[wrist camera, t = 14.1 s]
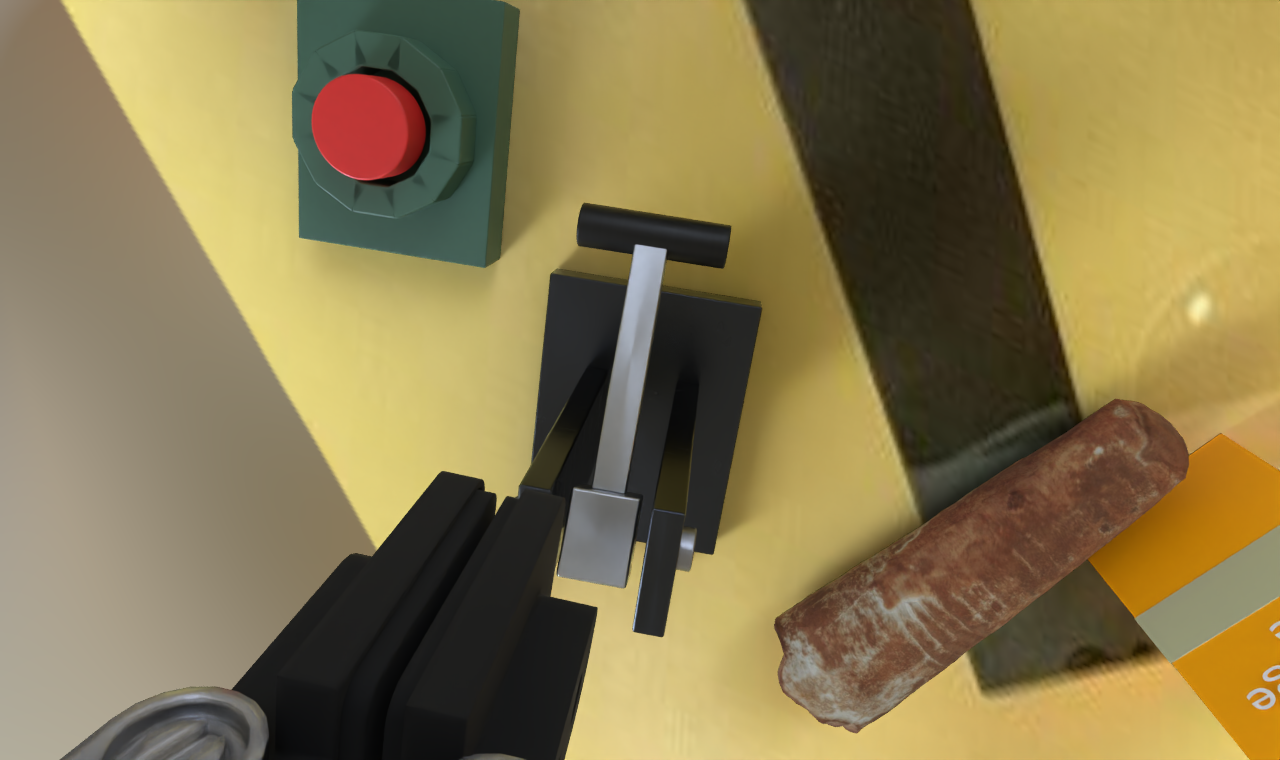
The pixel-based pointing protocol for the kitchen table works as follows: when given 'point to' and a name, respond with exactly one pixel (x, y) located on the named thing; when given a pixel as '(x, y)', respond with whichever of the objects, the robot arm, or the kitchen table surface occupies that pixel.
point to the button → (368, 126)
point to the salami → (974, 565)
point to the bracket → (646, 416)
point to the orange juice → (1212, 587)
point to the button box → (454, 119)
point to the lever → (627, 382)
